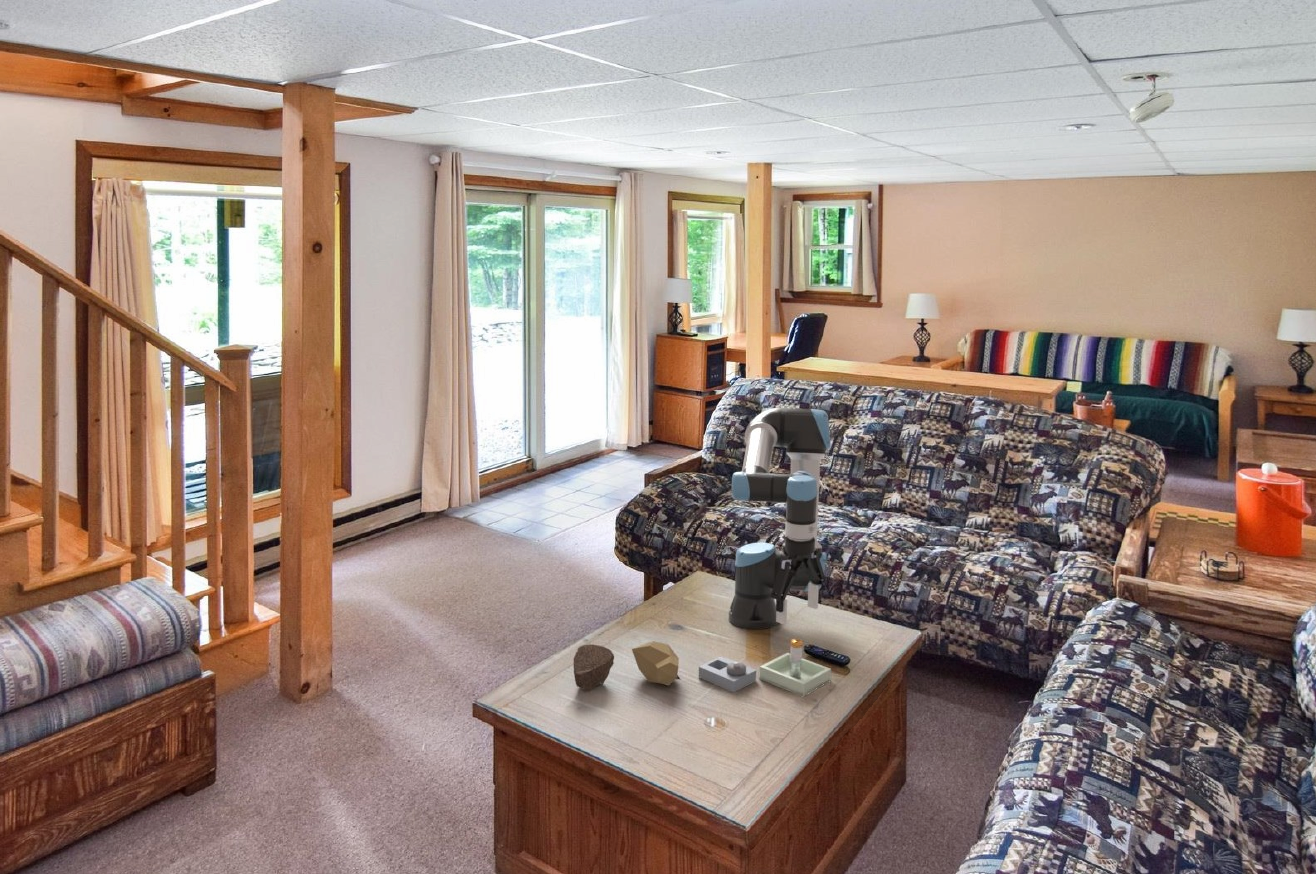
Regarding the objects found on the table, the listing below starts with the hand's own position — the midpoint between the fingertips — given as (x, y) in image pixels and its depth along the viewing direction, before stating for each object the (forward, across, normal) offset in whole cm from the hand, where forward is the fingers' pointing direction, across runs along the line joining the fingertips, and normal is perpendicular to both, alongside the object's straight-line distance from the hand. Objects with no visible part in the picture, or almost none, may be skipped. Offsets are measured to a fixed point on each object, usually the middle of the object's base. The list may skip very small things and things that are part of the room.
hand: (797, 615), depth 242 cm
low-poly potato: (+18, -27, +24) cm, 40 cm away
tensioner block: (+18, -13, +12) cm, 25 cm away
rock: (+18, -41, +34) cm, 56 cm away
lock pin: (+17, -1, 0) cm, 17 cm away
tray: (+18, -1, 0) cm, 18 cm away
